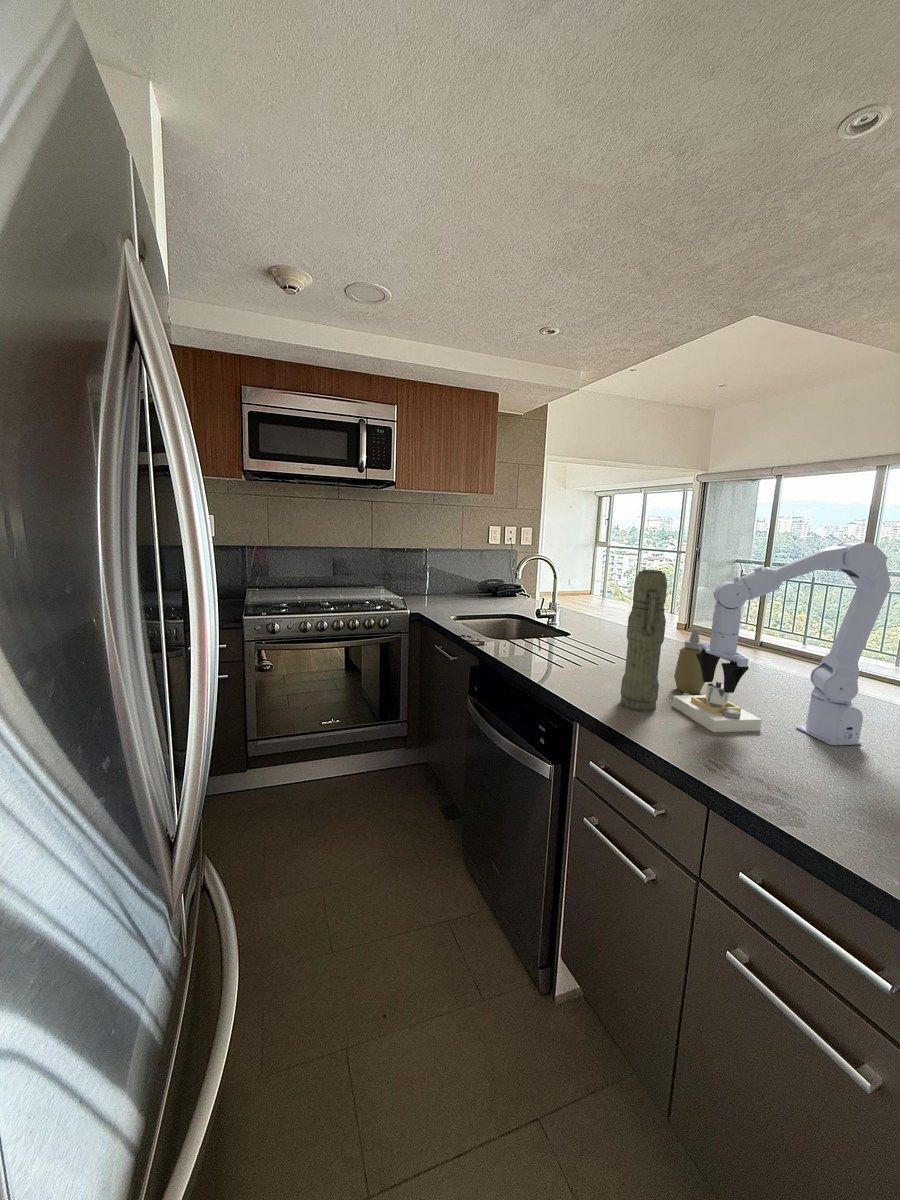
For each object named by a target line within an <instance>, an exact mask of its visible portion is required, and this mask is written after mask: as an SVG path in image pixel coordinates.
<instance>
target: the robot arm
mask: <svg viewBox="0 0 900 1200" xmlns="http://www.w3.org/2000/svg"><path fill="white" fill-rule="evenodd" d="M887 561H888V556H887V555H886V554H885V553H884V552H883V550H881V549H880V548H879V546H877V545H876V544H873V543H870V542H854V541H843V542H840V543H838V544H837V545H831V546H827V547H824V548H821V549H818V550H817V551H814V552H812V553H809V554H808V555H805V556H802V557H801V558H798V559H796V560H794V561H791V562H788V563H787V564H784V565H782V566H780V567H778V568H775V569H774V568H771V567H768V566H765V567H762V566H758V567H755V568H753V570H754V571H752V572H750V573H747V574H745V575H743V576H740V577H739V576H735V577H732V580H733V581H724V582H721V583H720V584H718V585H717V587H716V588H715V590H714V591H713V598H714V600H715V604H714V611H713V616H712V623H711V633H710V640H709V643H708V642H702V643H700V644H699V650H700V651H702V652H701V653H696V656H697V658H698V660H699V663H700V666H701V670H702V677H703V682H705V683H713V681H714V678H715V674H716V673H715V672H716V670H717V669H716V668H717V665H718V662H719V661H720V659H722V660H725V661H727V662H721V665H720V666H721V668H722V672H723V685H724V692H725V693H729V694H734V693H735V691H736V689H737V686H738V685H739V681H740V680H741V679H742V677H743V676H744V675H745V674H746V672H747V671H748V670H749V667H750V666H749V665H748V664H749V658H748V657H745V656H744V655H742V654H741V653H739V652H738V651H737V649H738V641H739V634H740V627H741V620H742V619H741V618H742V615H741V614H742V607H743V605H744V604H745V603H746V602H747V601H752V600H754V599H757V598H759V597H762V596H764V595H767V594H770V593H773V592H776V591H778V590H779V589H780V587H781V585H782V583H783V582H786V581H789V580H792V579H795V578H797V577H802V576H803V575H806V574H809V573H812V572H816V571H819V570H821V569H829V570H830V569H831V570H832V569H833V570H840V571H841V572H842V573H844V574H845V575H847V576H848V577H849V579H850V580H851V581H852V583H853V584H854V585H855V587H856V589H855V591H854V593H853V596H852V598H851V601H850V603H849V605H848V608H847V610H846V613H845V615H844V618H843V620H842V622H841V625H840V627H839V629H838V632H837V634H836V637H835V639H834V641H833V644H832V646H831V648H830V651H829V653H827V654H826V655H825V656H823V657H822V659H821V661H820V662H819V664H818V665H817V666H816V667H815V668H813V670H812V671H811V672H810V681H811V683H812V685H813V686H814V688H813V690H811V694H810V700H809V706H808V711H807V712H808V713H807V719H806V724H805V725H795V728H796V729H798V730H800V731H802V732H804V733H805V734H808V735H810V736H811V737H813V738H815V739H818V740H820V741H822V742H824V743H826V744H827V745H830V746H847V745H848V746H849V745H850V746H851V745H852V746H854V745H862V741H860V737H861V736H860V735H861V732H862V727H863V720H864V716H863V712H862V710H860V709H859V708H857V707H856V706H854V705H853V703H852V700H853V699H855V698H856V696H857V695H858V693H859V686H858V685H859V684H858V680H859V678H860V674H861V673H860V667H859V661H860V658H861V656H862V654H863V652H864V649H865V647H866V645H867V642H868V640H869V639H870V638H869V637H870V635H871V633H872V632H873V629H874V626H875V624H876V621H877V619H878V617H879V615H880V612H881V610H882V608H883V605H884V603H885V601H886V598H887V596H888V594H889V592H890V589H891V585H892V584H891V579H890V576H889V575H890V574H889V570H888V566H887Z"/></svg>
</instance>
